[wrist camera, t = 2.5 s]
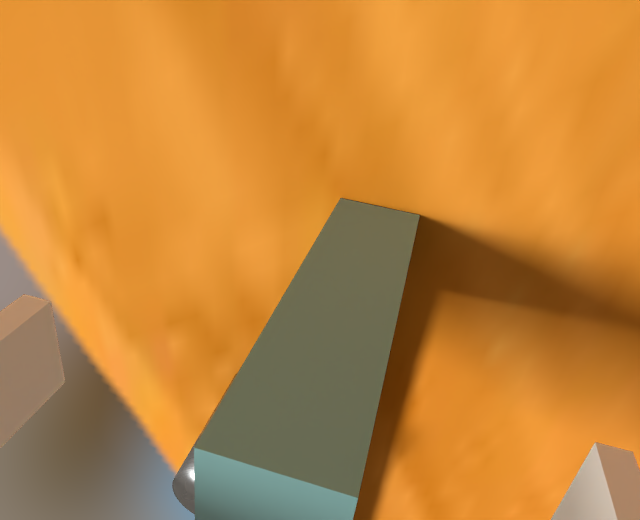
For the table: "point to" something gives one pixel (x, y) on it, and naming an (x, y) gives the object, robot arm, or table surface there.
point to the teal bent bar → (311, 380)
